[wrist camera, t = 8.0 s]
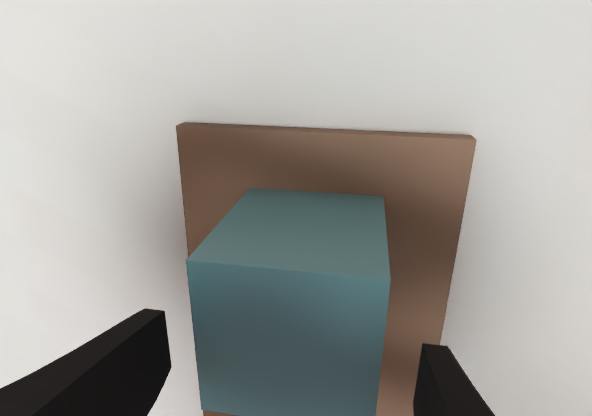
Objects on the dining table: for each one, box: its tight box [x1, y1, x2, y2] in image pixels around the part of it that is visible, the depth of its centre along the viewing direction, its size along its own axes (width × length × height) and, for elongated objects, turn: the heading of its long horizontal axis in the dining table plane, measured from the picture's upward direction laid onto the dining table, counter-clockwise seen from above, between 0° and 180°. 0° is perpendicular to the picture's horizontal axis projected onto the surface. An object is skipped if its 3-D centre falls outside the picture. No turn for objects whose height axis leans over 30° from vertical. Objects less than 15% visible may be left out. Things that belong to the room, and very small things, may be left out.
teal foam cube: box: [186, 188, 391, 416], centre depth 14 cm, size 5×5×6 cm
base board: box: [176, 122, 476, 416], centre depth 19 cm, size 19×11×1 cm, turn 179°
